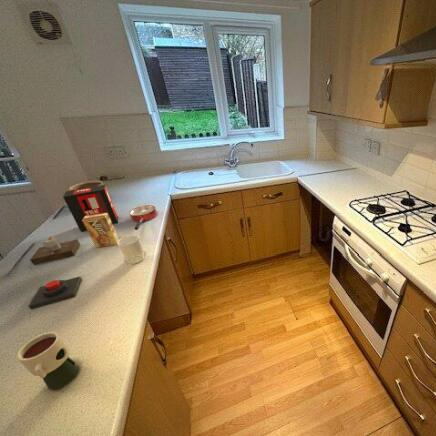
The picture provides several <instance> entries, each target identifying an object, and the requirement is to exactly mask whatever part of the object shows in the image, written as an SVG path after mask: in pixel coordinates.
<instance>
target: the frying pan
mask: <svg viewBox="0 0 436 436" xmlns="http://www.w3.org/2000/svg"><path fill="white" fill-rule="evenodd" d="M129 215H130V219H131V220H132V221H133V222H136V225H135V227H134V230H135V231H139V229H140V227H141V225H142V223H143V222H147V221H151V220H153V219H154V218H156V217H157V215H158V212H157V209H156V207H155V205H148V204H147V205H140V206H137V207H135V208H132V209H131V210H130V211H129Z"/></svg>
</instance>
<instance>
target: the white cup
mask: <svg viewBox="0 0 436 436" xmlns="http://www.w3.org/2000/svg"><path fill="white" fill-rule="evenodd" d="M116 245H117V246H118V249H119V250H120V252H121V254H122V255H123V257H124V259H125V261H126V263H128V265H129V264H130V265H133V264H138V263H141V262H142V261H143V260H144V259H145V253H144V248H143V245H142V241H141V239H140V236H139V235H138V234H130V235H125V236H123V237H121V238H119V240H118V242H117V244H116Z"/></svg>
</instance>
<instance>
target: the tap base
mask: <svg viewBox="0 0 436 436" xmlns="http://www.w3.org/2000/svg"><path fill="white" fill-rule="evenodd" d="M59 243H60V245H61V248H60V249H59V250H56V251H53V252H49V251H48V249H47V248H46V246H45V245H44V246H40V247H38V248H37V249H36V251H35V252H34V254H33V255H32V256H31V258H29V261H30V262H31V264H32V265H33V266H37V265H41V264H46V263H49V262H54V261H58V260H62V259H67V258H70V257H74V256H75V255H76V254H77V252H78V250H79V248H80V246H81V243H80V242H79V240H78V239H73V240H69V241H68V240H67V241H64V242H59Z"/></svg>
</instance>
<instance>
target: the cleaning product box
mask: <svg viewBox="0 0 436 436" xmlns="http://www.w3.org/2000/svg"><path fill="white" fill-rule="evenodd" d="M106 188H107V187H106V185H105V184H103V185H101V186H95V187H89V188H83V189H77V190H66V191H65V192H64V194H63V196H62V198H63V200H64V202H65V204H66V205H67V208H68V210H69V212H70V214H71V215H72V217H73V219H74V221H75V224H76V226H77V228H78V229H79V231H80V233H82V232H83V233H84V232H88V231H87V229H86V227H85V225H84V223H83V221H82V219H83V218H84V217H85V216H89V215H96V214H103V213H108V215H109V218H110V220H111V222H112V225H113V226H114V225H117V224H119V216H118V214H117V211H116V208H115V207H114V204H113V201H112V199H111V196H110V194H109V191H108V189H106ZM107 191H108V192H107Z"/></svg>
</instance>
